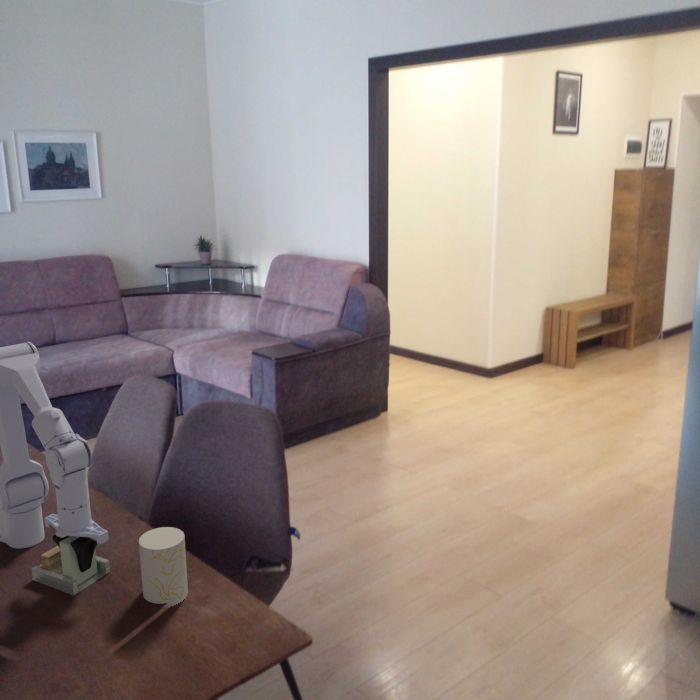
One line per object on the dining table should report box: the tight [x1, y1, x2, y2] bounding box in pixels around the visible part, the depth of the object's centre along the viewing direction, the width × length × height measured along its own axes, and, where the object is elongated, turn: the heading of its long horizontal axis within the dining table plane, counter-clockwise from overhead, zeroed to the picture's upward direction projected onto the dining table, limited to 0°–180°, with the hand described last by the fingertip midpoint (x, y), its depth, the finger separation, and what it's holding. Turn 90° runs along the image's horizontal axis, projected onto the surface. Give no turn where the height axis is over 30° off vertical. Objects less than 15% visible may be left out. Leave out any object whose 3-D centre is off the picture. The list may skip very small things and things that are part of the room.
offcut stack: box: [38, 545, 63, 574], centre depth 138 cm, size 2×6×4 cm, turn 153°
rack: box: [30, 555, 111, 596], centre depth 137 cm, size 11×9×4 cm
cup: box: [138, 526, 189, 609], centre depth 131 cm, size 8×8×12 cm
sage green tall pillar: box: [59, 536, 98, 586], centre depth 135 cm, size 2×6×9 cm, turn 153°
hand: (79, 567), depth 135 cm, fingers closed on sage green tall pillar, 2 cm apart
